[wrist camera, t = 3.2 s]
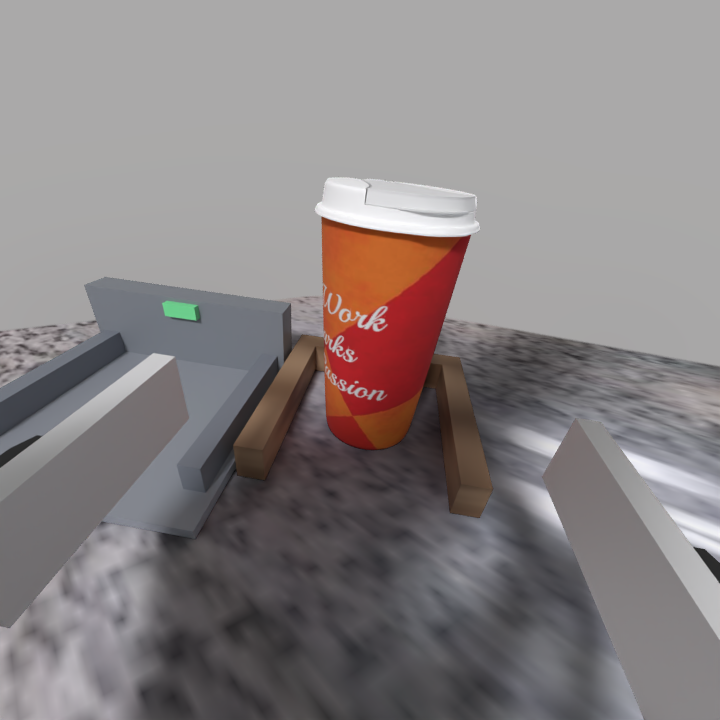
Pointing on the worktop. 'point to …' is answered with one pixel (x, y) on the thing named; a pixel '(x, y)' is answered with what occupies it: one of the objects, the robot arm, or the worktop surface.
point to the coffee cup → (385, 298)
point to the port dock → (198, 379)
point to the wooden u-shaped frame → (445, 375)
